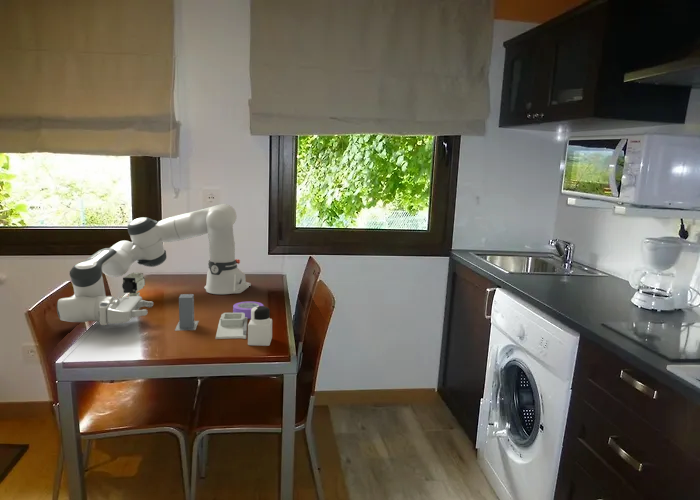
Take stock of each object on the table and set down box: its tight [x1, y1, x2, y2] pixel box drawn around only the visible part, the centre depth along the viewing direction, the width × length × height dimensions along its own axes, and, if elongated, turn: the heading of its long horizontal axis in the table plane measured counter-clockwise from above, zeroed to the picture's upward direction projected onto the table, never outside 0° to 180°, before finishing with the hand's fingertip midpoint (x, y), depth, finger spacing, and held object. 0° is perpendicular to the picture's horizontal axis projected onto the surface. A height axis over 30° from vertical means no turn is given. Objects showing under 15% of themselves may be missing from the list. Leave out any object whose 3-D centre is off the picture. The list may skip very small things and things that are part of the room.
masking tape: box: [232, 301, 264, 320], centre depth 195 cm, size 12×12×4 cm
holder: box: [215, 312, 248, 340], centre depth 177 cm, size 20×10×4 cm, turn 10°
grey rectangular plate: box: [174, 320, 200, 332], centre depth 179 cm, size 10×7×1 cm
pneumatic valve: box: [121, 272, 146, 297], centre depth 205 cm, size 6×12×12 cm, turn 1°
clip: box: [178, 293, 195, 328], centre depth 178 cm, size 4×4×11 cm
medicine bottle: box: [247, 305, 273, 347], centre depth 166 cm, size 7×7×12 cm
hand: (150, 308), depth 175 cm, fingers open, 8 cm apart
